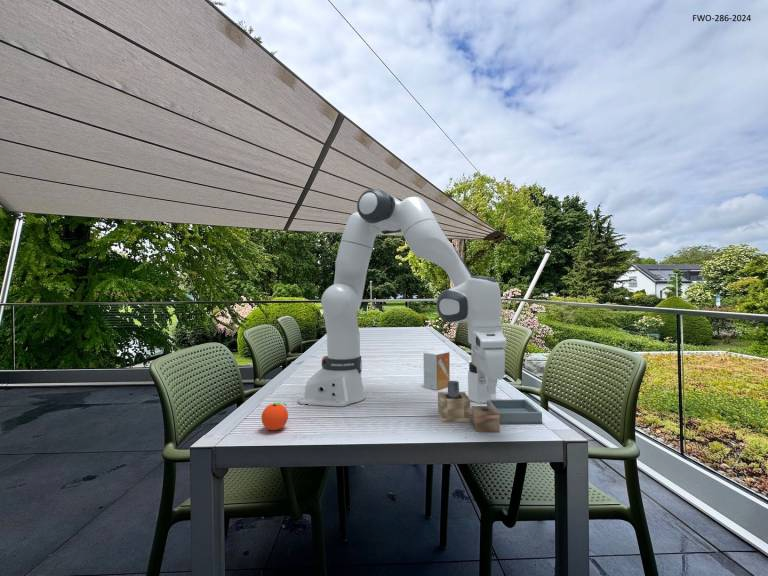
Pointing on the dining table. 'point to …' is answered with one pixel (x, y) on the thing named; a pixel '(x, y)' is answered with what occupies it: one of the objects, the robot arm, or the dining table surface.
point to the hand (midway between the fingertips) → (486, 388)
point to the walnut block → (485, 419)
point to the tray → (516, 411)
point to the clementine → (274, 416)
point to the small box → (436, 369)
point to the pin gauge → (453, 390)
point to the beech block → (453, 408)
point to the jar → (477, 387)
